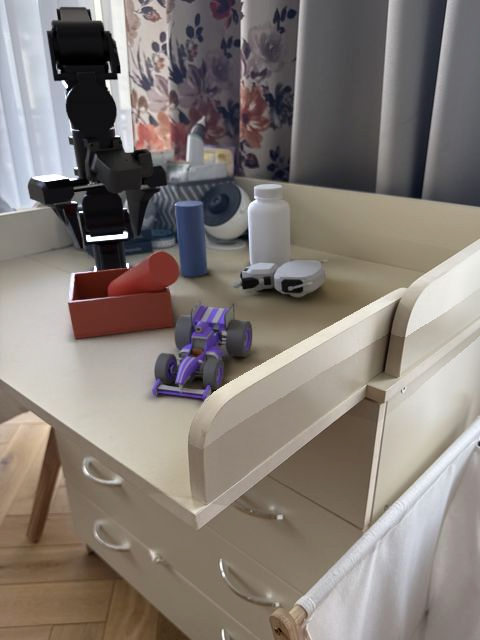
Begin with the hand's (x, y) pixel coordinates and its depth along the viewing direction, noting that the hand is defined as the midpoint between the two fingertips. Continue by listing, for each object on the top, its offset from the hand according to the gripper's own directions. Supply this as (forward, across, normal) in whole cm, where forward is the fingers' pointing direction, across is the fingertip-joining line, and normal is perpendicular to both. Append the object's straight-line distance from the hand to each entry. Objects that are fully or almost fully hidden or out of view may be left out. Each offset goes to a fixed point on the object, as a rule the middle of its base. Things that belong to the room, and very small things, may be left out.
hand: (109, 241), depth 80 cm
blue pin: (+12, +20, +8) cm, 25 cm away
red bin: (+12, 0, -1) cm, 12 cm away
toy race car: (+12, -1, -23) cm, 26 cm away
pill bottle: (+12, +34, +2) cm, 36 cm away
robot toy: (+12, +26, -10) cm, 30 cm away
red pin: (+9, +2, +1) cm, 9 cm away
